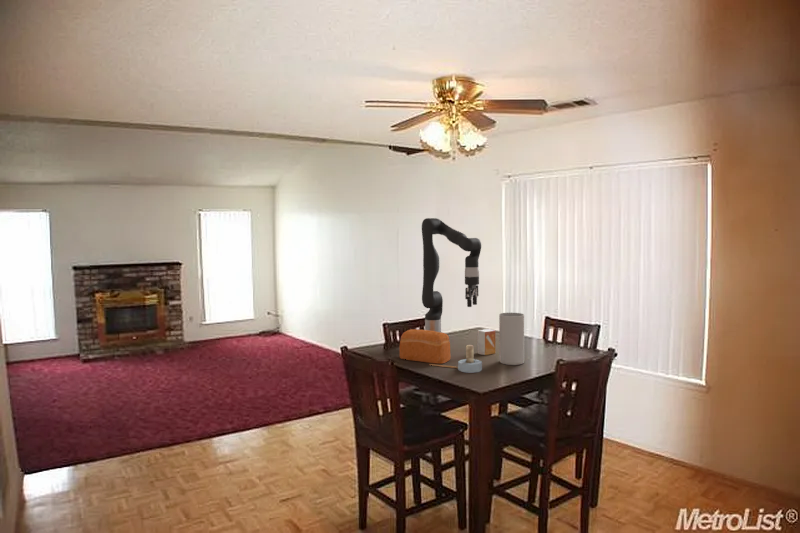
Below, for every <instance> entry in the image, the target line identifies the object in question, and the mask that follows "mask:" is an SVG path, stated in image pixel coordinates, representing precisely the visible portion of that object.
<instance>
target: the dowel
mask: <svg viewBox="0 0 800 533" xmlns="http://www.w3.org/2000/svg"><path fill="white" fill-rule="evenodd" d="M474 348H475V347H474V345H472V344H467V345H465V353H466V354H465V359H466V363H474V359H475V358H474V350H475V349H474Z"/></svg>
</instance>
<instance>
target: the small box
mask: <svg viewBox="0 0 800 533" xmlns="http://www.w3.org/2000/svg"><path fill="white" fill-rule="evenodd" d="M476 338H477V339H476V340H477V345H476V346H477V354H478V355H482V356H489V355H495V354H496V330H495V329H490V328H485V329H484V328H483V329H480V330H479V329H478V330H477V336H476Z"/></svg>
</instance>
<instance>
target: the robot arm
mask: <svg viewBox="0 0 800 533" xmlns="http://www.w3.org/2000/svg"><path fill="white" fill-rule="evenodd" d="M434 235H441V236H444V237H446V239H447V240H448V241H449V242H450V243H452V244H454V245H456V246H458V247H459V248H461V249H462V250H463V251H465V252H469V255H467V256H466V257H465V259H464V263H465V264H464V267H465V268H464V285H467V287H465V296H464V297H465V300H467V301H466V302H467V303H466V305H467V308H472V307H473V305H474V306H476V305H478V297H479V285H480V269H479V258H480V255H481V252H482V251H481V250H482V242H481V239H480V238H477V237H468V236H467V235H466V234H464V232H461V231H459V230H456V229H454V228H452V227H450V226H449V225H448V224H446V223H445V222H444V221H443V220H442V219H439V218H436V217H434V218H431V217H427V218H424V219H423V220H422V223H421V237H422V249H423V252H422V253H423V254H422V255H423V260H422V261H423V262H422V265H423V266H422V267H423V268H422V269H423V270H422V271H423V273H422V274H423V277H422V278H423V279H422V292H421V303H422V305H423V307H424V308H426V309H428V311H427V312H426V314H424V330H429V331H436V332H442V315H443V302H444V300H443V295H442V293H441V292H440V291H438V290H437V291H436V290H434V287H435V286H434V285H435V281H436V278H437V276H438V274H439V270H440V256H439V253H438V252H437V249H436V248H435V245H434V241H433V236H434Z"/></svg>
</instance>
